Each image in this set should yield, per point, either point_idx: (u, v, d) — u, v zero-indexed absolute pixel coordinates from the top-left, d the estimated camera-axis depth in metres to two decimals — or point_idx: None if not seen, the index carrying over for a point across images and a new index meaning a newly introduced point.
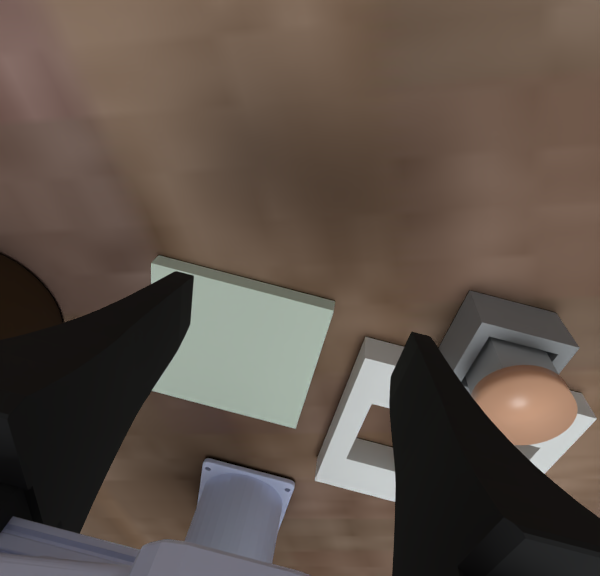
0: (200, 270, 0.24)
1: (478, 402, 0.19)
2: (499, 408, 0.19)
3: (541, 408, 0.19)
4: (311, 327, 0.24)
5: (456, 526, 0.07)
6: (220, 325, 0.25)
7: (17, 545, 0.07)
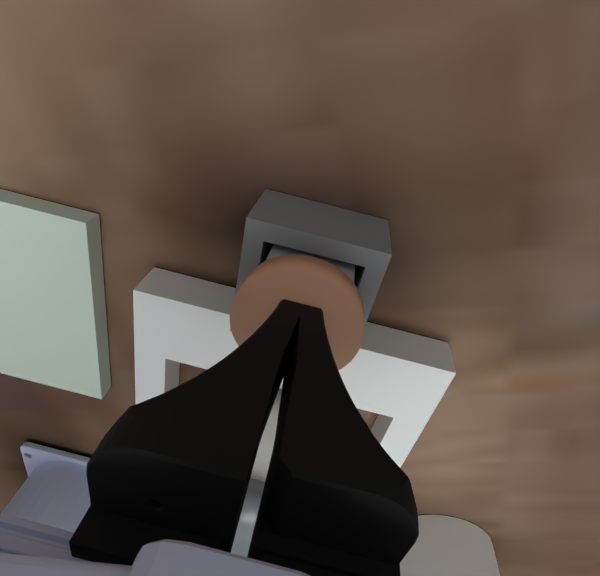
0: None
1: (230, 312, 0.13)
2: (259, 320, 0.13)
3: None
4: (67, 250, 0.18)
5: (271, 478, 0.07)
6: None
7: None
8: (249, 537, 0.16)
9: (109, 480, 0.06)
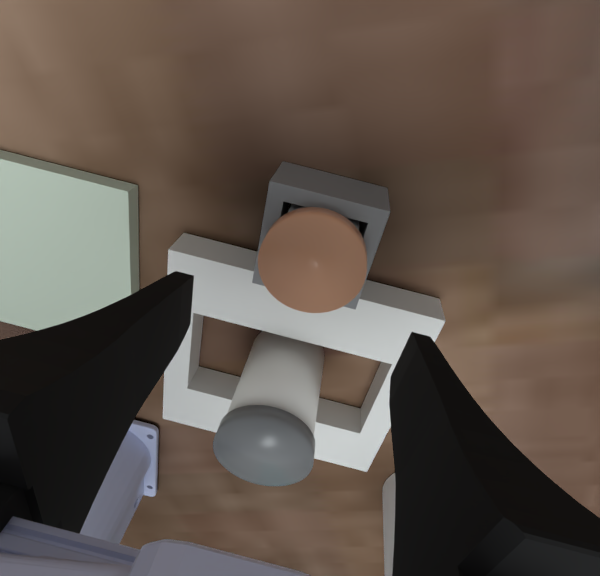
0: None
1: (258, 255, 0.16)
2: (282, 261, 0.16)
3: (326, 257, 0.16)
4: (110, 216, 0.21)
5: (455, 526, 0.07)
6: (11, 219, 0.21)
7: (17, 545, 0.07)
8: (269, 459, 0.19)
9: None
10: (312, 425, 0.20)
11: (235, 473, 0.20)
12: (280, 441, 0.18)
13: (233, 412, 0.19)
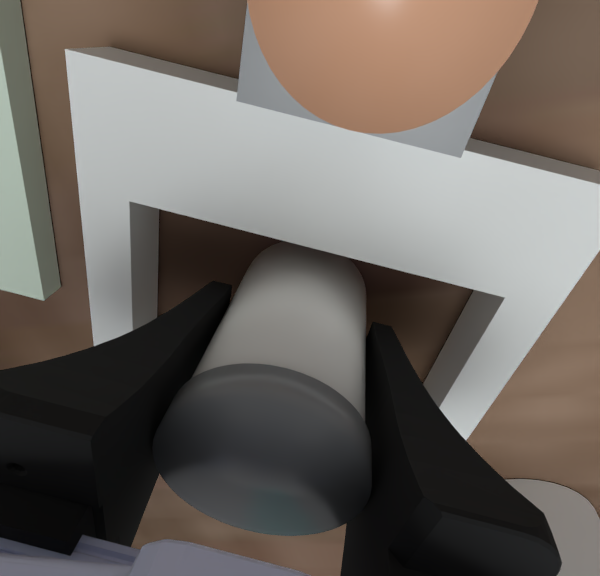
0: None
1: None
2: None
3: None
4: None
5: (389, 509, 0.07)
6: None
7: None
8: (273, 483, 0.09)
9: None
10: (363, 411, 0.10)
11: (204, 510, 0.10)
12: (299, 446, 0.08)
13: (196, 380, 0.09)
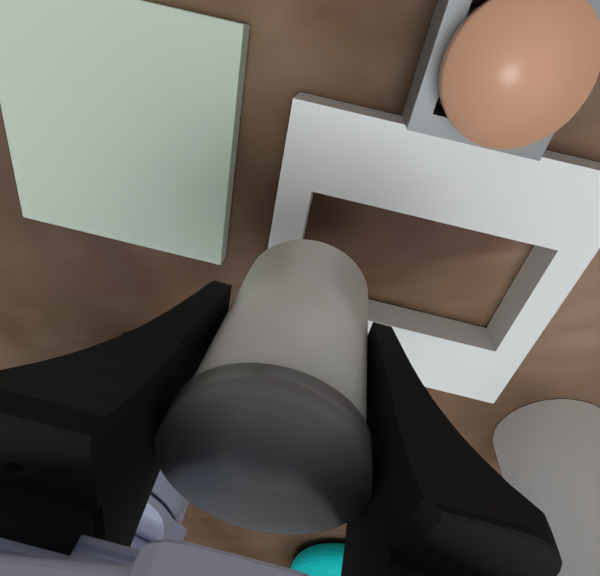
0: None
1: (447, 59, 0.12)
2: (480, 66, 0.12)
3: (545, 54, 0.12)
4: (216, 65, 0.17)
5: (390, 509, 0.07)
6: (90, 78, 0.18)
7: None
8: (274, 481, 0.09)
9: None
10: (364, 410, 0.10)
11: (206, 509, 0.10)
12: (299, 444, 0.08)
13: (196, 379, 0.09)
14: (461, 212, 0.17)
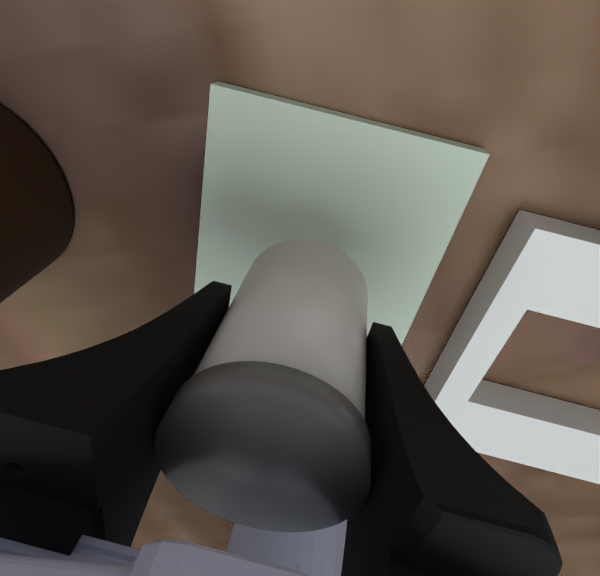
0: (283, 99, 0.16)
1: None
2: None
3: None
4: (448, 188, 0.16)
5: (390, 509, 0.07)
6: (306, 193, 0.17)
7: None
8: (274, 479, 0.09)
9: None
10: (362, 406, 0.10)
11: (209, 508, 0.10)
12: (296, 441, 0.08)
13: (193, 379, 0.09)
14: None
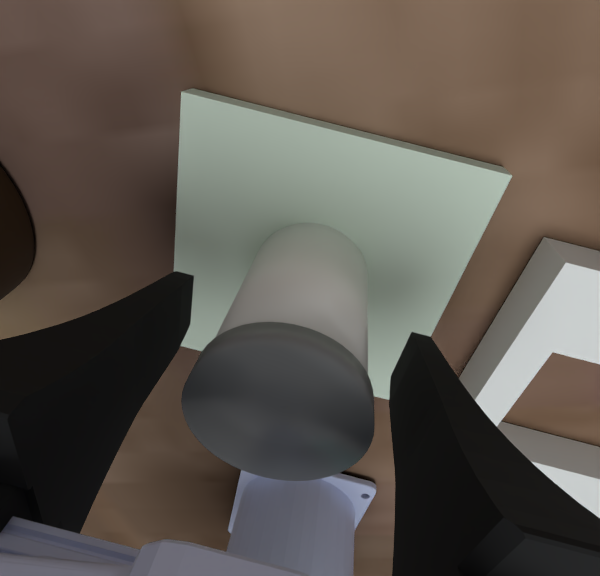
0: (268, 110, 0.14)
1: None
2: None
3: None
4: (462, 213, 0.14)
5: (455, 527, 0.07)
6: (296, 217, 0.15)
7: (17, 545, 0.07)
8: (288, 428, 0.10)
9: None
10: (365, 365, 0.11)
11: (228, 459, 0.11)
12: (308, 390, 0.09)
13: (217, 339, 0.10)
14: None
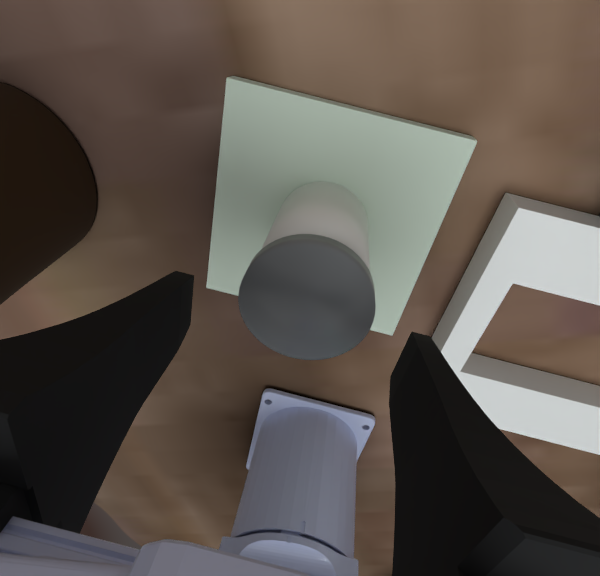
0: (291, 92, 0.18)
1: None
2: None
3: None
4: (440, 172, 0.18)
5: (455, 526, 0.07)
6: (312, 177, 0.19)
7: (17, 545, 0.07)
8: (314, 313, 0.14)
9: None
10: None
11: (269, 344, 0.15)
12: (329, 279, 0.13)
13: (264, 248, 0.14)
14: None
